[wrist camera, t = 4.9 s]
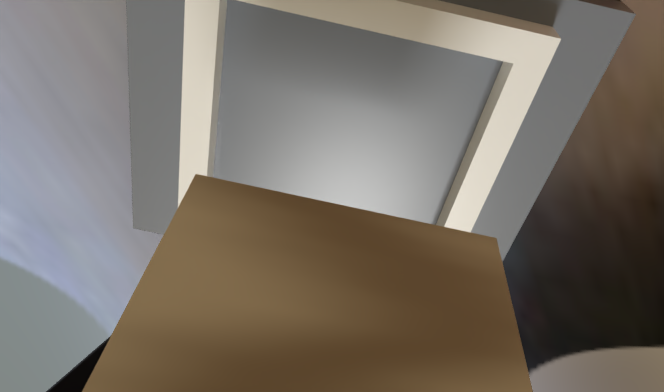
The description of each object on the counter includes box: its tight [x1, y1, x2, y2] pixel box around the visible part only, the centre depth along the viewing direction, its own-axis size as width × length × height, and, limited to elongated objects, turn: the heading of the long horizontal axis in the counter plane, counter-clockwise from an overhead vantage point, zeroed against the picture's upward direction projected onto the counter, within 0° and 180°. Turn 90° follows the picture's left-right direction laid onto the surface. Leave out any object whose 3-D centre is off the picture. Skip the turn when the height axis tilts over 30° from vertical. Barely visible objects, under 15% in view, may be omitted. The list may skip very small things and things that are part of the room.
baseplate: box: [126, 0, 636, 261], centre depth 15 cm, size 12×10×2 cm
